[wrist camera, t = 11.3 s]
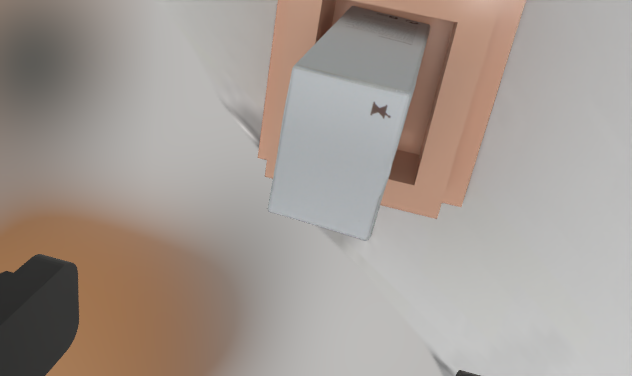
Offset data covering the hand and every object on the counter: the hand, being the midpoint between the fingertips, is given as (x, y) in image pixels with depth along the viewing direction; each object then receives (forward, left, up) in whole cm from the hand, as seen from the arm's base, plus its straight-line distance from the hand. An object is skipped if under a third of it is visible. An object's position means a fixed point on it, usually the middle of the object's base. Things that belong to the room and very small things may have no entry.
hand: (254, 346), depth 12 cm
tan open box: (0, 0, -23) cm, 23 cm away
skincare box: (0, 0, -22) cm, 22 cm away
